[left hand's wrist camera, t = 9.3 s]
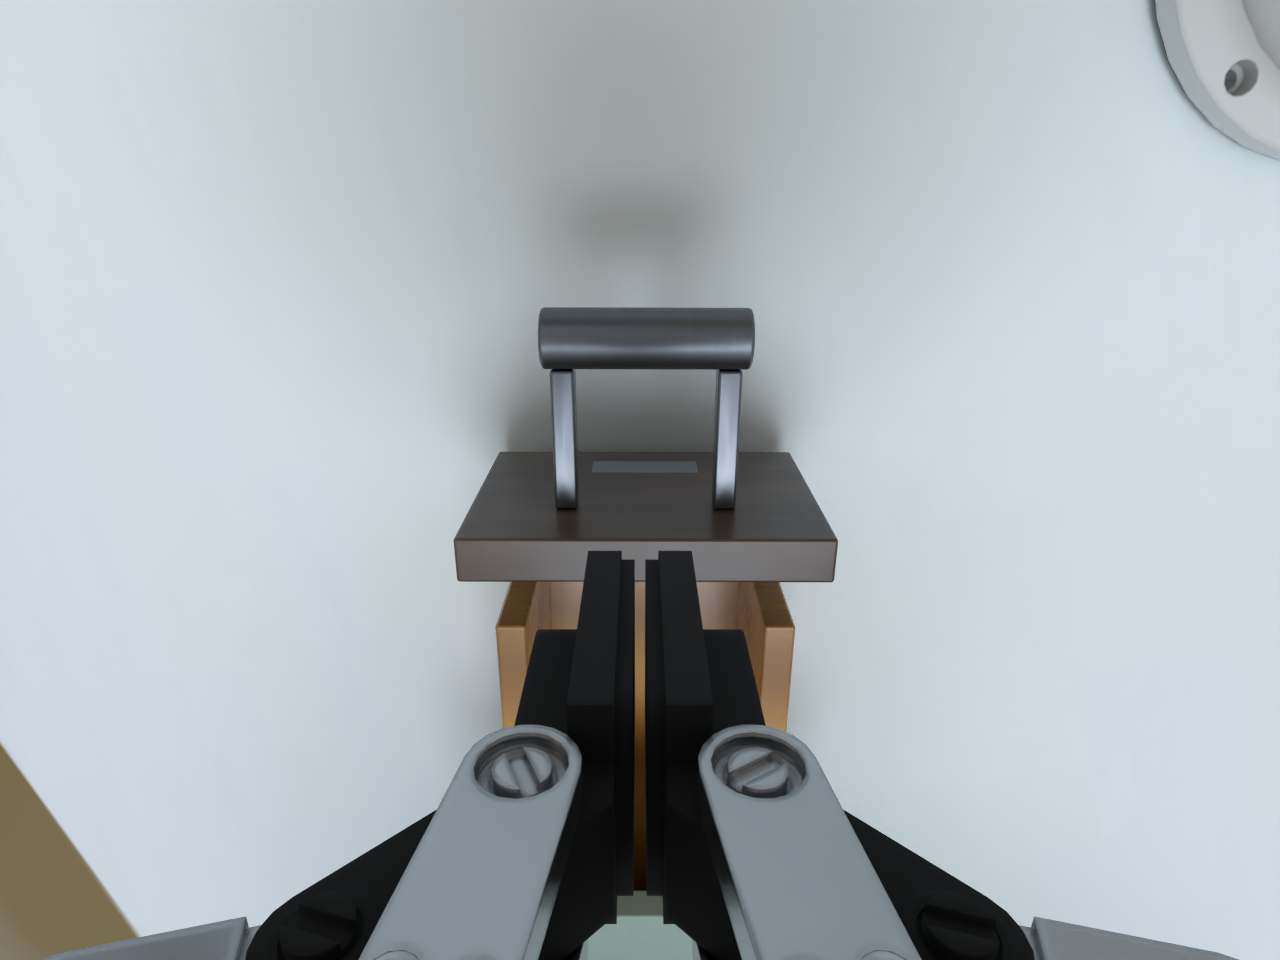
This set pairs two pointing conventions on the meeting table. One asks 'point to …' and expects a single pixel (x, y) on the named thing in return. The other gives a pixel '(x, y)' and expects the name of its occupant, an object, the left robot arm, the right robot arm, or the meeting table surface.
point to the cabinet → (639, 933)
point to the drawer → (647, 511)
